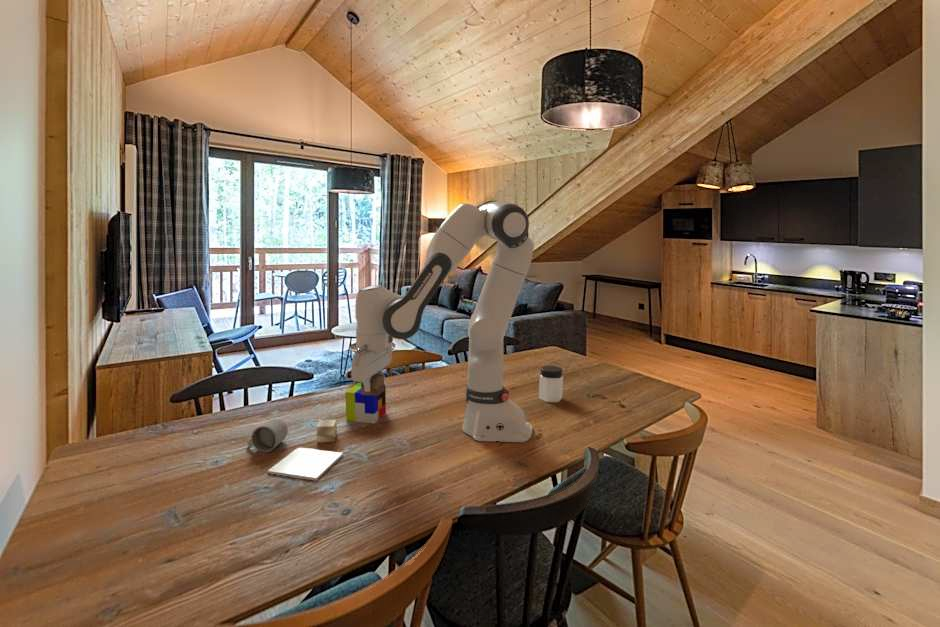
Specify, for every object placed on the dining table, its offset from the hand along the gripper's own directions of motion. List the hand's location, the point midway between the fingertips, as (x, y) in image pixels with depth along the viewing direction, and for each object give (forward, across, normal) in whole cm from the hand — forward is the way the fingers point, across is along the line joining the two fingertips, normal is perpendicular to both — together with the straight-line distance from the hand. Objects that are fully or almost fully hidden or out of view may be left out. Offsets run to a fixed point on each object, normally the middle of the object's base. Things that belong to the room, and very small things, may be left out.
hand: (372, 387), depth 139 cm
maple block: (+17, -2, +15) cm, 23 cm away
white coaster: (+17, -18, +12) cm, 27 cm away
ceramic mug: (+17, -11, +29) cm, 36 cm away
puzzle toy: (+17, +18, +11) cm, 27 cm away
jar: (+17, +52, -49) cm, 73 cm away
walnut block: (+2, 0, 0) cm, 2 cm away
